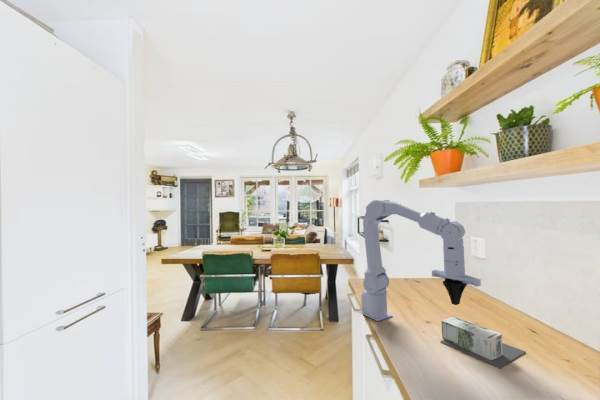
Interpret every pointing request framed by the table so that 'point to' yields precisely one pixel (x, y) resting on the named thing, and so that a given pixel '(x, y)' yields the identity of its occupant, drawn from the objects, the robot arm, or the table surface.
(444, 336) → the syrup box
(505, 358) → the rubber mat
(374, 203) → the robot arm
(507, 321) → the table surface
